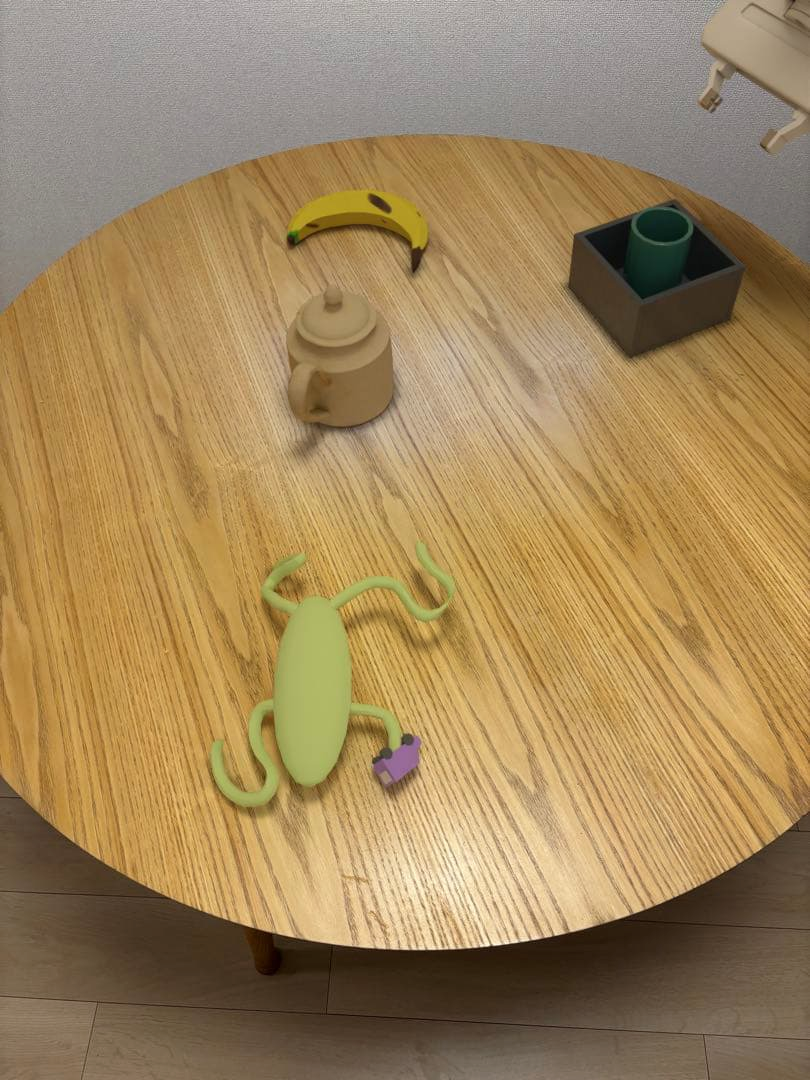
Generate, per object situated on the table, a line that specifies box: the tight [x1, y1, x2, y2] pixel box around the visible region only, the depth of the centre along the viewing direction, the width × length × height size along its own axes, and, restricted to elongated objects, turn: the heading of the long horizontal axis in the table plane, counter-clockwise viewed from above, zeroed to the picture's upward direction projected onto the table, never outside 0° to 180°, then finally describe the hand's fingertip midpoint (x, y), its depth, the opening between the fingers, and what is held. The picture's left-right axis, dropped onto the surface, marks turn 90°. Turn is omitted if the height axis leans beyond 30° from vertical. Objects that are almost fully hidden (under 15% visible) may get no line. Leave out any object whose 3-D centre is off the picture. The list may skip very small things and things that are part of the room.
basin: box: [567, 198, 747, 358], centre depth 114 cm, size 14×14×8 cm
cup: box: [622, 206, 693, 299], centre depth 113 cm, size 7×7×10 cm
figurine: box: [209, 541, 456, 808], centre depth 88 cm, size 18×27×6 cm
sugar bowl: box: [285, 283, 395, 428], centre depth 104 cm, size 15×11×15 cm
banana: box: [286, 188, 429, 273], centre depth 125 cm, size 5×17×15 cm
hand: (734, 128), depth 103 cm, fingers open, 8 cm apart
